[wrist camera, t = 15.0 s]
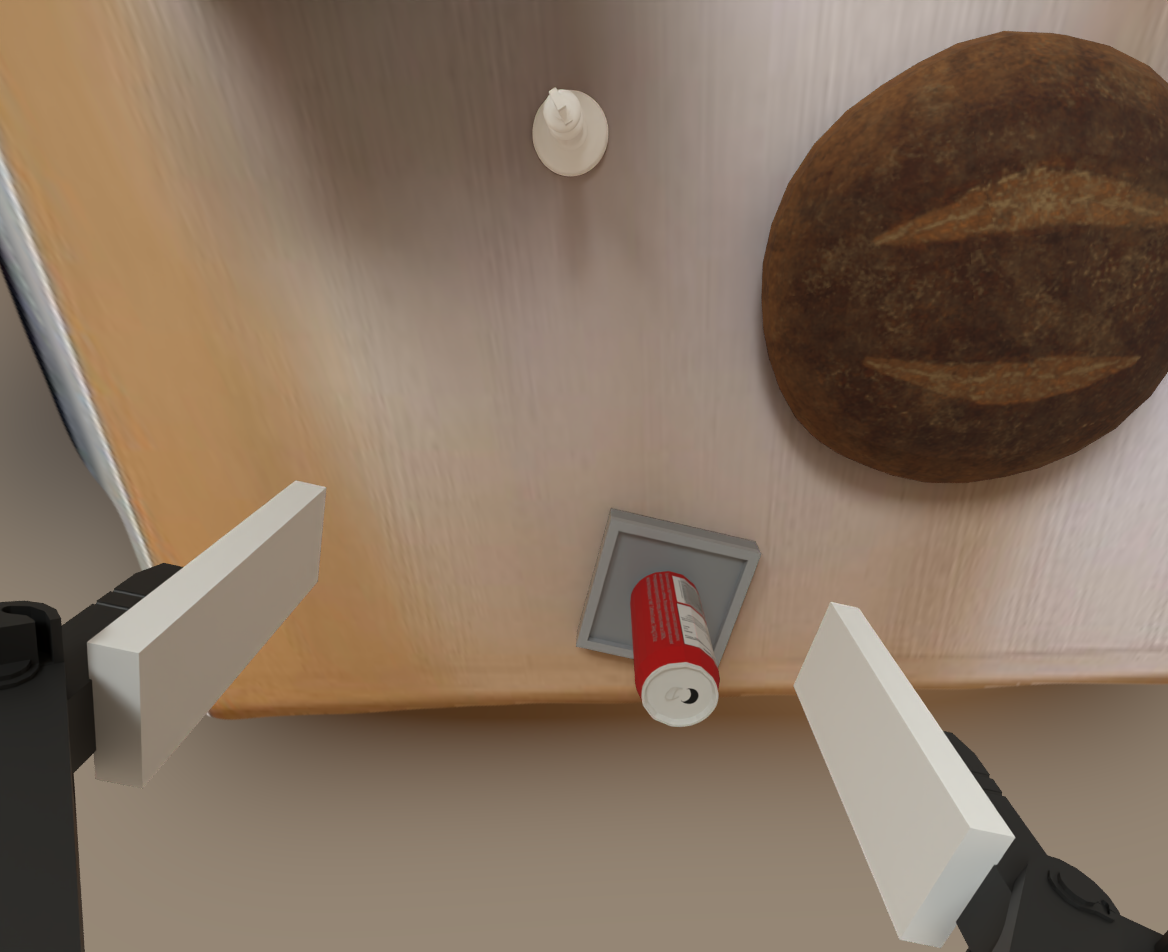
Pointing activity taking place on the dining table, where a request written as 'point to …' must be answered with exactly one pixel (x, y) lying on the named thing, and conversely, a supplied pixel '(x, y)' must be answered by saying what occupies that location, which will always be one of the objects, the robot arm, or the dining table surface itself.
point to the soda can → (672, 650)
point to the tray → (659, 547)
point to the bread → (977, 261)
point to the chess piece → (570, 132)
